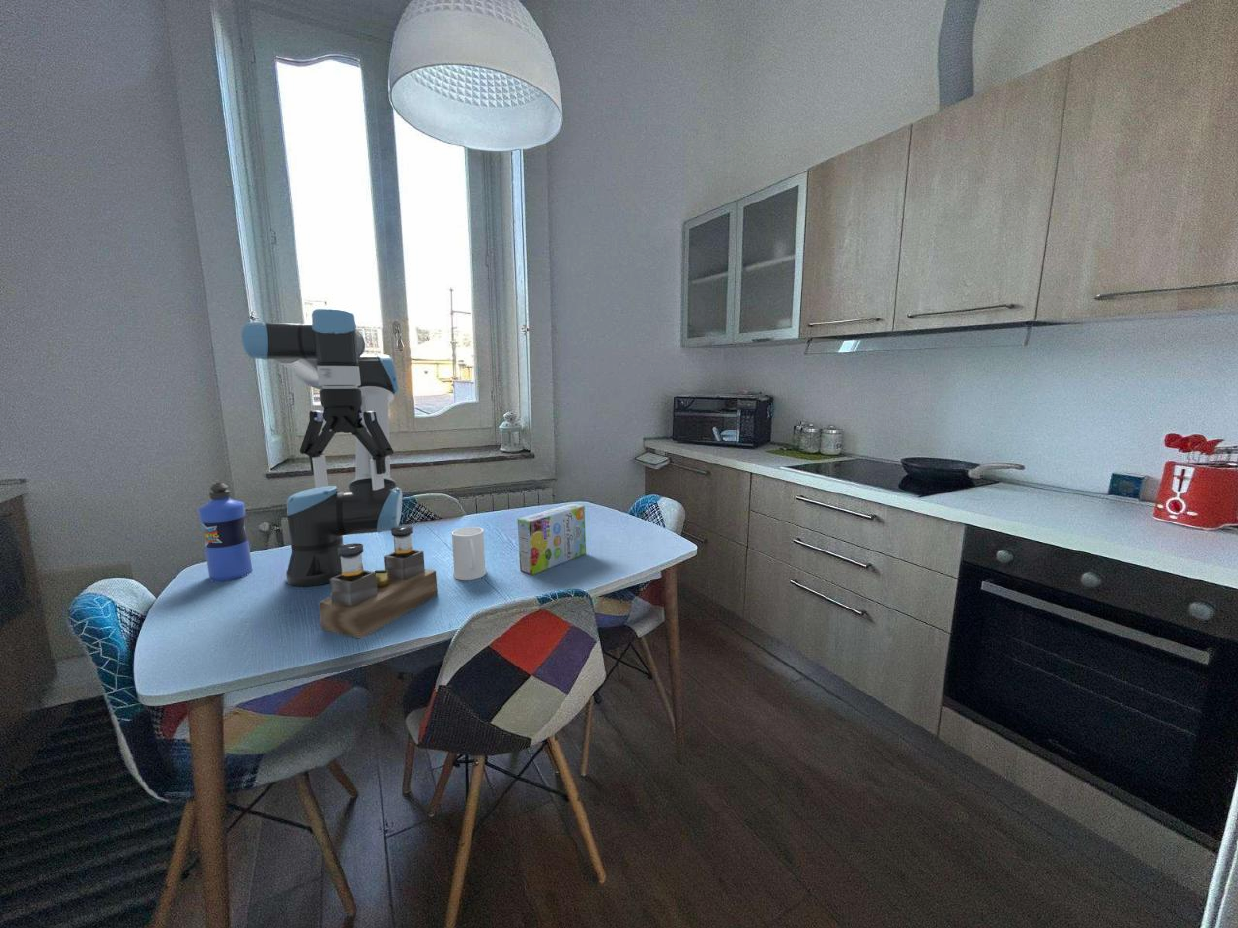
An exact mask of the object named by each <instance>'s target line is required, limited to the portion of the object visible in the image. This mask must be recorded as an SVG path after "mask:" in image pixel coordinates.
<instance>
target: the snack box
mask: <svg viewBox="0 0 1238 928" xmlns="http://www.w3.org/2000/svg"><path fill="white" fill-rule="evenodd" d="M585 507H586V506H585V505H582V504H577V503H570V504H566V505H563V506H560V507H555V508H551V509H547V510H545V511H541V512H538V513H534V514H530V515H527V516H523V517H520V518H517V533H518V534H517V535H518V548H519V549H518V552H519V569H520V571H521V572H524V573H526V574H529V575H532V576H533V575H535V574H538V573H541V572H544V571H545V570H548V569H551V568H553V567H556V566H558V565H560V564H563V563H565V562H566V563H567V562H568V561H571V560H573V559H575V558H578V557H581V556H584V555H585V554H587V541H586V539H587V537H586V508H585Z"/></svg>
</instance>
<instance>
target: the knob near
mask: <svg viewBox="0 0 1238 928" xmlns="http://www.w3.org/2000/svg"><path fill="white" fill-rule="evenodd" d="M337 550H338V555H339V556H340V557H341V567H342V577H343V580H346V581H351V582H352V581H354V580H357V579H359V578H361V577H363V570H364V566H363V558H362V557H363V556H362V554H363V552H364V544H362V543H355V542H354V543H348V544H344V545H343V546H340V547H339V548H338V549H337Z"/></svg>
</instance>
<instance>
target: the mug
mask: <svg viewBox="0 0 1238 928" xmlns="http://www.w3.org/2000/svg"><path fill="white" fill-rule="evenodd" d="M484 533H485V532H484V528H482V527H477V526H466V527H460V528H455V530H453V531H452V532H451V542H452V557H453V559H452V560H453V575H452V577H453V578H454V579H456V580H459V581H473V580H478V579H480V578H483V577H484V576H486V574H487V567H486V557H485V556H486V554H485V553H486V550H485V534H484Z"/></svg>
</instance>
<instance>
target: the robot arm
mask: <svg viewBox="0 0 1238 928" xmlns="http://www.w3.org/2000/svg"><path fill="white" fill-rule="evenodd" d="M311 317H312V318H311V319H312V321H311V323H288V322H269V321H268V322H266V321H258V322H257V321H255V322H254V321H252V322H246V323H244V324H243V326H242V327H241V342H242V347H243V350H244V352H245V354H246V355H247V356H248V357H250V358H252V359H257V360H258V359H259V360H265V361H266V360H274V361H275V362H277V363H279V364H280V365H282V366H283V367H285V368H287V369H288V370H290V371H291V372H293V373H295V375H296V377H297V378H298V380H300V381H301V382H302V383H303V384H305V385H306V386H309V387H311V388H314V389H316V390H319V400H320V406H321V407H323V410H322V409H320V410H318V409H317V410H310V411H309V413H308V414H309V421H308V424H307V428H306V430H305V433H304V436H303V440H302V442H301V445H300V448H299V453H300V454H302V455H307V456H308V458H309V462H310V470H311V472H313V477H314V486H315V487H313V488H310V489H306V490H301V491H298V492H296V493H294V494H292V495H290V496H289V497H288V498H287V500H286V511H287V512H286V517H287V524H288V531H289V540H290V546H291V553H290V558H289V560H288V566H287V570H286V573H285V574H286V575H285V576H286V582H287V584H289V585H291V586H295V587H296V586H297V587H311V586H319V585H325V584H330V579H331V578H333V577H336V576H338V575H340V574H342V567H341V557H340V556H339V555H338V550H337V549H338V548H339V547H340V546H343V545H345V544H344V537H343V536H351V535H352V536H353V535H361V534H370V533H371V534H372V533H378V534H379V533H382V532H389V531H391V529H392V528H394V527H397V526H400V522H401V517H402V511H403V489H402V488H400V487H398V486H397V482H396V481H395V480H394V479H393V478H391V459H390V457H391V456H392V455H393V454H394V449H393V448H392V446H391V444H390V419H389V418H390V414H389V413H390V411H389V406H390V404H391V403H392V402H393V401H394V399H395V395H398V394H400V388H399V383H398V377H397V372H396V367H395V362H394V359H393V357H392V356H390V355H388V354H379V353H374V354H364V352H365V350H366V342H365V338H364V337H363V335H362V333H361V332H360V331H359V330H358V329H357V325H356V321H355V316H354V313H353V312H351V311H349V310H345V309H336V308H317V309H314V310H313V311H312V314H311ZM324 421H325V424H324ZM323 424H324V425H323ZM336 433H337V434H338V433H344V434H345V433H346V434H348V433H350V434H352V435H353V436H355V477H354V479H353V480H351V481H350V482H349V485H348V491H346V490H345V491H340V489H339V488H338V487H337V485H329V482H328V472H327V471H328V469H327V462H326V455H324V453H323V452H324V451H325V449H326V447H327V446H328V444H330V442H331V440H332V438H333V437H334V435H335V434H336Z"/></svg>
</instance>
